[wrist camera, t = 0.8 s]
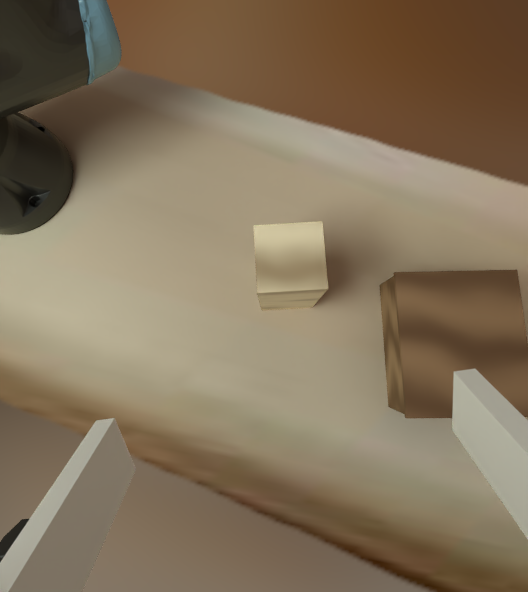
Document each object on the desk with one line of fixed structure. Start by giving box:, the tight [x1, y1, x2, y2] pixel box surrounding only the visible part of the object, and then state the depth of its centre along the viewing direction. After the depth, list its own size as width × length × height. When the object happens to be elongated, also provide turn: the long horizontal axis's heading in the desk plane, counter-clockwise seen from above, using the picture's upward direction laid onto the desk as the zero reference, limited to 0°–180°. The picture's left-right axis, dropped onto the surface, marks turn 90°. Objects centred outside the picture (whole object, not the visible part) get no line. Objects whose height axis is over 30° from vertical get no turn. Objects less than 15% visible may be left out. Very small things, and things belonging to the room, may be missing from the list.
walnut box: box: [380, 270, 528, 418], centre depth 36 cm, size 14×12×6 cm
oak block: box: [254, 221, 328, 310], centre depth 35 cm, size 6×6×12 cm
